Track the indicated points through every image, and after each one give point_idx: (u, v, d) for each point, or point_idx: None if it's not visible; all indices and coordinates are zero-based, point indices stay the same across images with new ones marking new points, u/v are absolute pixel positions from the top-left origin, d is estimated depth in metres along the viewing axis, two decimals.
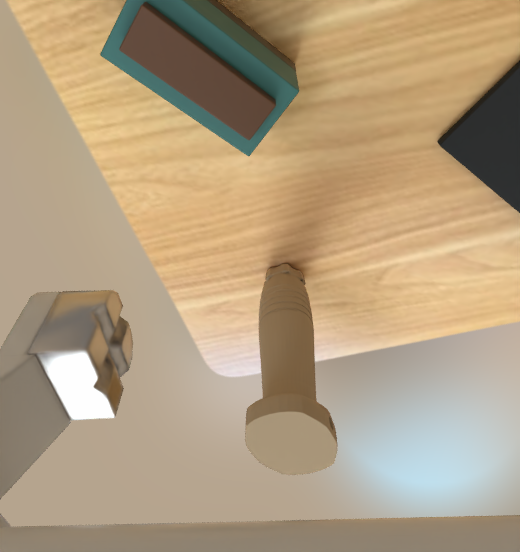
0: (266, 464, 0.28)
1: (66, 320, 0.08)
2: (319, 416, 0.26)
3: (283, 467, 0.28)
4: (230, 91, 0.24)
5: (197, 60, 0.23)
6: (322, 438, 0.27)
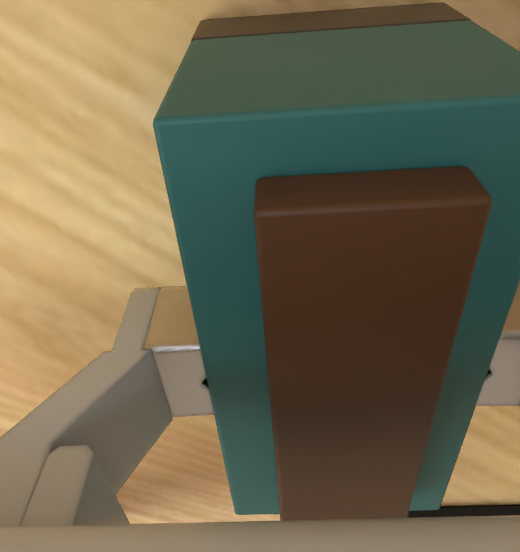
0: None
1: (175, 315, 0.08)
2: None
3: None
4: (370, 479, 0.08)
5: (400, 403, 0.07)
6: None
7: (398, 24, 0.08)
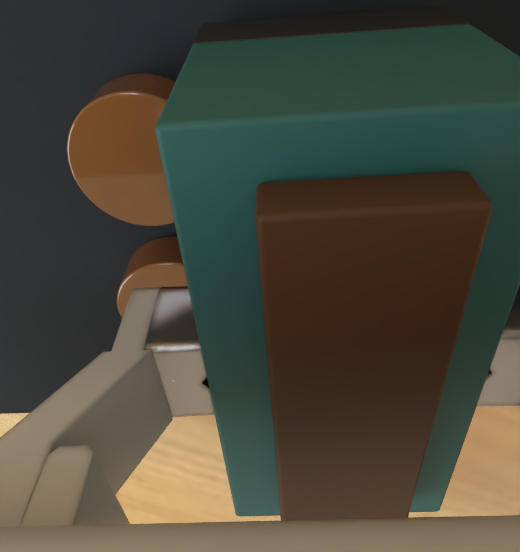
0: None
1: (175, 315, 0.08)
2: None
3: None
4: (370, 481, 0.08)
5: (400, 406, 0.07)
6: None
7: (398, 28, 0.08)
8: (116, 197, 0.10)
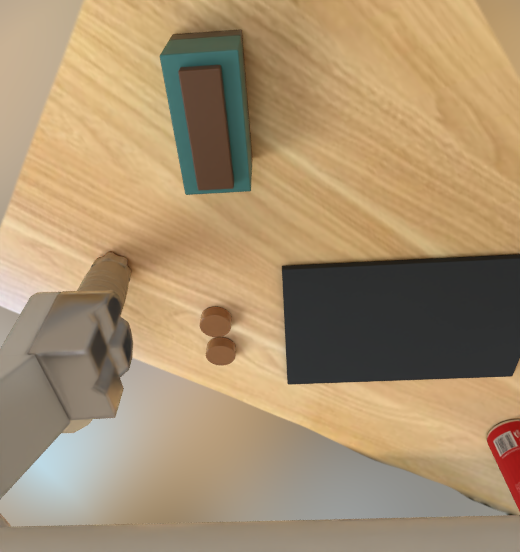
0: None
1: (66, 320, 0.08)
2: None
3: None
4: (217, 157, 0.30)
5: (217, 125, 0.29)
6: None
7: (221, 36, 0.30)
8: (209, 331, 0.46)
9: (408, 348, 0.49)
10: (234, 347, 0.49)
